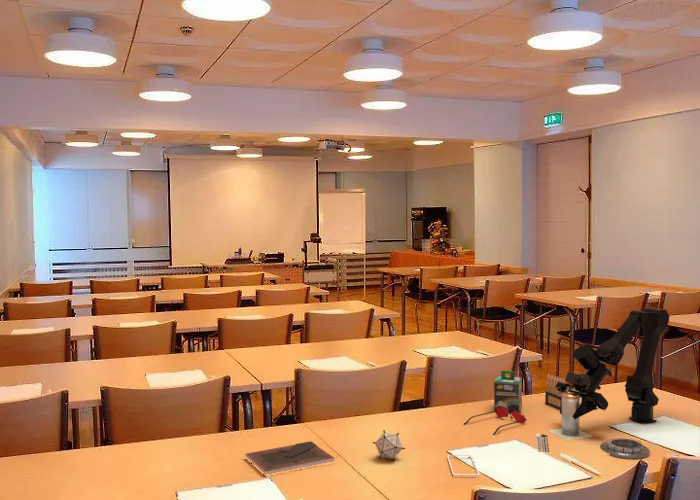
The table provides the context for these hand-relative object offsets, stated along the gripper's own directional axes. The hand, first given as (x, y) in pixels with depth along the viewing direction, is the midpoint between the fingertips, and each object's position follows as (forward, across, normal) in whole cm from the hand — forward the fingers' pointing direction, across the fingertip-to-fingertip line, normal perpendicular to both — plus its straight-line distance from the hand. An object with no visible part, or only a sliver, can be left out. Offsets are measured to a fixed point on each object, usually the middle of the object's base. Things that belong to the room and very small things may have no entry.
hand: (567, 416), depth 224 cm
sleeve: (+3, 0, +5) cm, 6 cm away
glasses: (+14, -20, -4) cm, 25 cm away
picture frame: (+67, -22, -57) cm, 91 cm away
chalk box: (+3, -32, +6) cm, 33 cm away
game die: (+48, -10, -38) cm, 62 cm away
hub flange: (+1, +19, +8) cm, 20 cm away
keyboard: (+13, +3, -3) cm, 14 cm away
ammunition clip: (-9, -26, +19) cm, 33 cm away
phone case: (+38, +6, -27) cm, 47 cm away
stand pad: (+4, 0, +6) cm, 7 cm away
